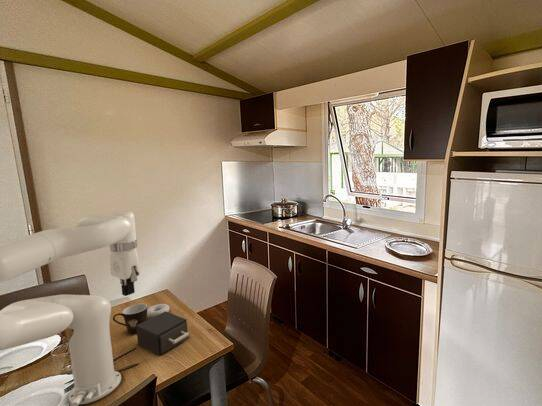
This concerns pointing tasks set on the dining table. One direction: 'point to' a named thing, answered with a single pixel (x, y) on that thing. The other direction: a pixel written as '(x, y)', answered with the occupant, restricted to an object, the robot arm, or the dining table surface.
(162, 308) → the donut
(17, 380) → the dining table surface
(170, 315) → the gray drawer box
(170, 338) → the drawer
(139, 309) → the coffee mug
